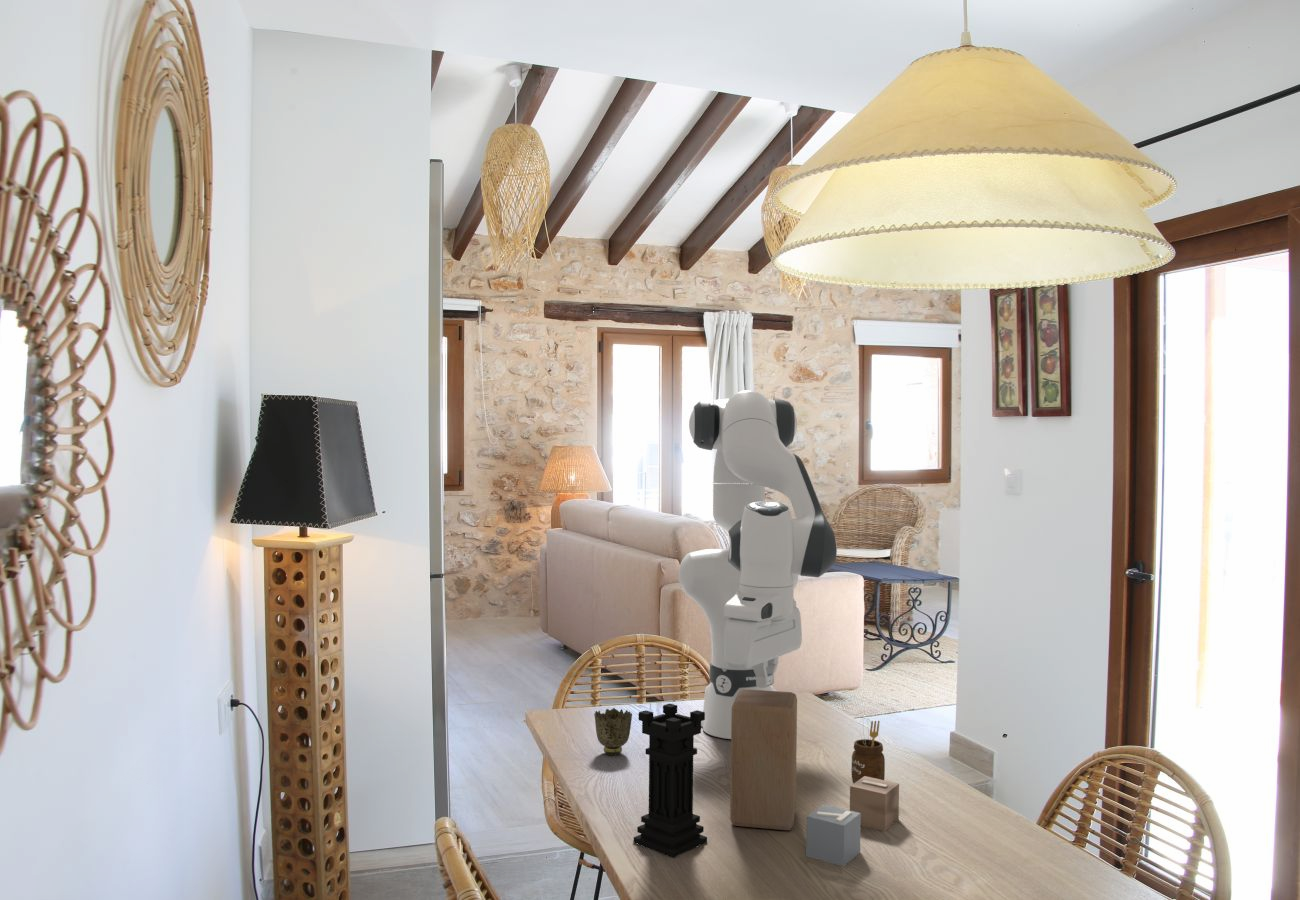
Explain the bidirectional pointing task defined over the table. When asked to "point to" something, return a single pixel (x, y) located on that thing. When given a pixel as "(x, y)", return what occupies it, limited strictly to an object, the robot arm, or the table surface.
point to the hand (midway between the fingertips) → (765, 685)
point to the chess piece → (671, 782)
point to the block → (763, 759)
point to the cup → (613, 729)
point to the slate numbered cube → (833, 834)
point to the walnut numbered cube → (875, 802)
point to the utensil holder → (868, 756)
